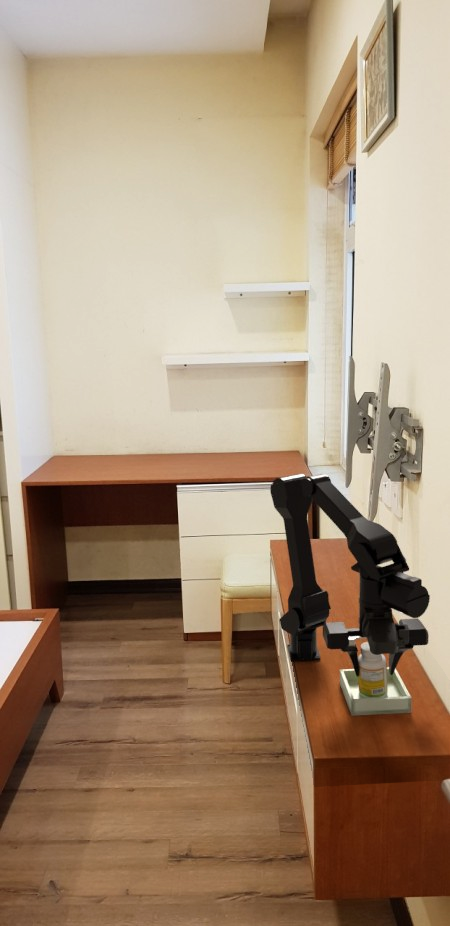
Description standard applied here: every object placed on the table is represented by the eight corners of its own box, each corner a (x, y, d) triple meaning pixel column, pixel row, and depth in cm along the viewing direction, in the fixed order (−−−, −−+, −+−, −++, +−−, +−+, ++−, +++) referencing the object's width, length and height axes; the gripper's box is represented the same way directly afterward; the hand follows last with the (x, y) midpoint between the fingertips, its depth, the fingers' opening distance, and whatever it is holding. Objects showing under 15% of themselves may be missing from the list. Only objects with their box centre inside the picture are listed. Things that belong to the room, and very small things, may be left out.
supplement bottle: (367, 682, 131) (365, 636, 129) (392, 690, 127) (390, 643, 125) (353, 695, 127) (351, 648, 125) (379, 703, 123) (377, 655, 121)
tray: (339, 683, 132) (339, 669, 132) (394, 680, 132) (394, 666, 132) (351, 715, 122) (351, 701, 121) (411, 712, 122) (411, 698, 121)
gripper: (332, 620, 115) (332, 701, 118) (440, 615, 115) (437, 696, 118) (321, 593, 125) (322, 668, 129) (419, 589, 126) (417, 664, 129)
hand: (374, 674), depth 126 cm, fingers open, 6 cm apart
